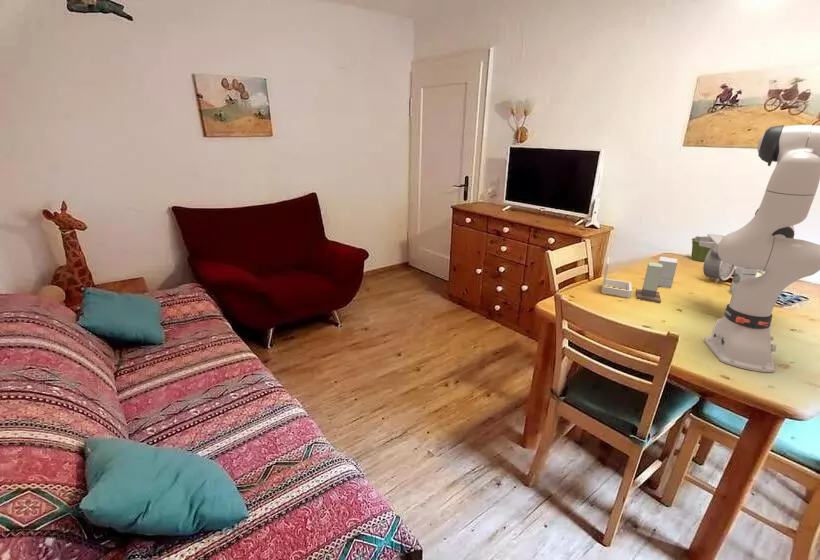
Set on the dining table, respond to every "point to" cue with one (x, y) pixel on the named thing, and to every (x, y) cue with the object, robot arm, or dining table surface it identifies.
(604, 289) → the white backed tray
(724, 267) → the alarm clock
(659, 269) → the sage box
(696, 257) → the plant pot
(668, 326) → the dining table surface
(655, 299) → the walnut board
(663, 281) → the supplement box
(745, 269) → the syrup box
